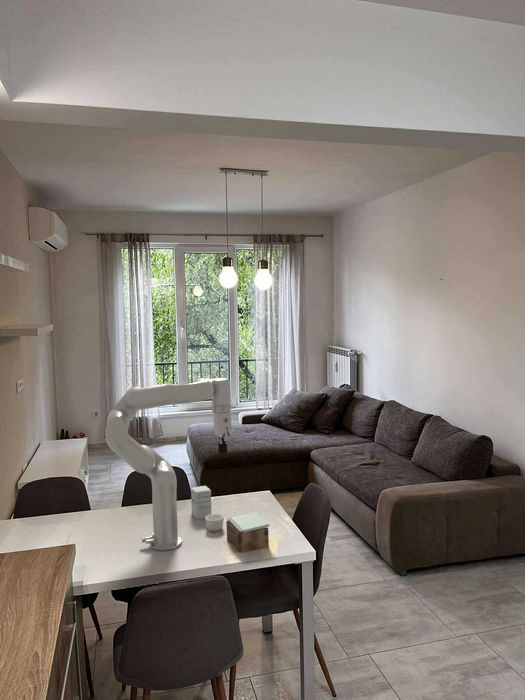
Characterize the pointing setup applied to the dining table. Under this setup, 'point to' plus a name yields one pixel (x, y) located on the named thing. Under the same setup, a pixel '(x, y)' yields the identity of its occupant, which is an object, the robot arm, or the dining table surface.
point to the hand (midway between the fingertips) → (222, 452)
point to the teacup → (214, 522)
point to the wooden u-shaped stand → (247, 538)
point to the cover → (248, 522)
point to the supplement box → (201, 502)
